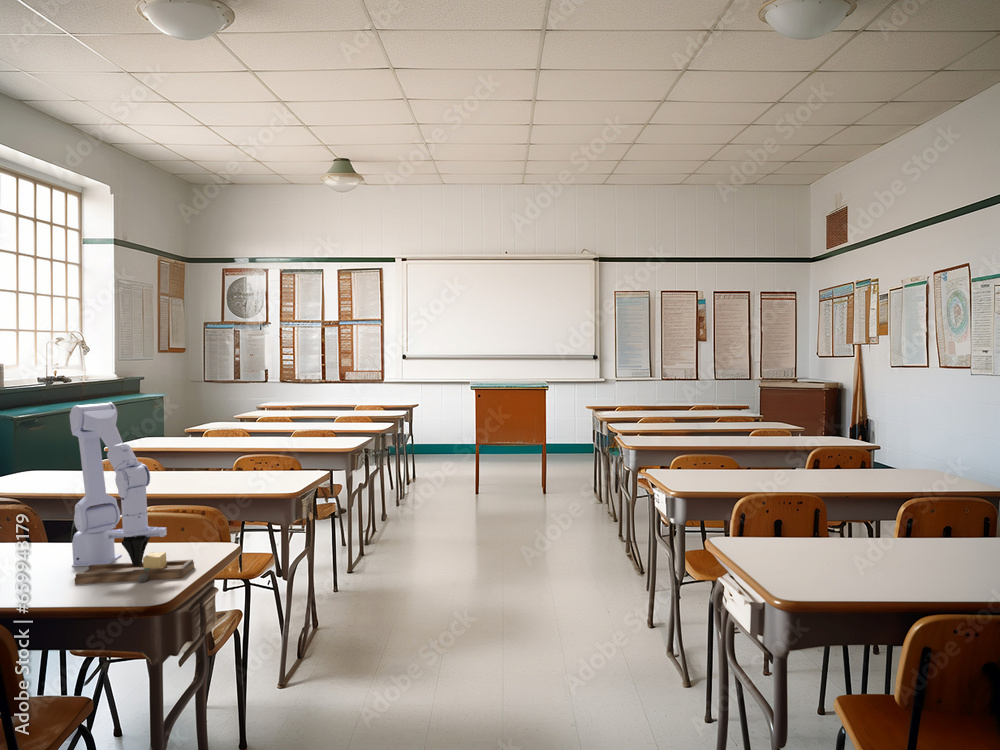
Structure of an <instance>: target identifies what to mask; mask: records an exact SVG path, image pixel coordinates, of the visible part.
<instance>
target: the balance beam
mask: <svg viewBox="0 0 1000 750" xmlns="http://www.w3.org/2000/svg"><path fill="white" fill-rule="evenodd" d="M166 563H167V565H166V566H165V567H164V568H160V569H150V568H145V569H144V567H143V561H142V564H141V565H139V566H133V564H132V562H124V563H123V562H121V563H119V562H118V563H110V564H98V565H90V566H87V567H88V569H87V570H85V571H83V572H76V573H75V577H74V585H81V584H83V585H84V584H96V583H97V584H99V583H118V582H135V581H137V582H139V583H141V584H142V583H145V582H147V581H153V580H168V579H169V580H171V579H172V580H173V579H183V578H184V577H185V576H187V575H188V574H189V573H190V572H191V571H192V570H193V569H194V568H195V561H194V559H179V560H176V559H175V560H166Z"/></svg>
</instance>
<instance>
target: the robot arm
mask: <svg viewBox="0 0 1000 750" xmlns="http://www.w3.org/2000/svg"><path fill="white" fill-rule="evenodd" d="M117 420H118V409H117V406H116V405H115V404H114V403H113V402H111V401H109V402H105V403H94V404H93V403H92V404H91V403H90V404H83V405H80V404H75V405H73V406H72V408H71V409H70V413H69V423H70V431H71V434H72V436H74V437H77V438H78V443H79V452H80V461H81V469H82V470H81V471H82V478H83V479H82V480H83V485H84V486H83V487H84V496H83V497H82V498H81V499H80V500H79V501H78V502H77V503H76V504H75V505H74V516H73V522H74V526H75V528H76V530H77V532H75V533H74V535H73V538H72V541H71V545H72V546H71V547H72V565H71V567H75V568H77V567H88V566H90V565H98V564H112V563H113V562H114V561H116V560H117V559H119V558H120V557H122V554H121V553H117V554H115V553H116V551H115V539H122V541H121V545H122V546H123V548H124V549H125V550H126V552H127V554H128V556H129V558H130V561H131V563H132V564H133V566H139V565H141V564H142V562H143V558H144V554H145V550H146V548H147V546H148V543H149V541H150V539H151V537H160V538H164V537H166V536H167V534H168V533H167V531H168V530H167V527H163V526H160V527H159V526H149V522H148V520H149V519H148V503H147V502H148V500H147V499H148V498H147V487H148V486H149V485H150V482H151V473H150V470H149V468H148V466H147V464H145V463H143V462H142V461H139V460H138V459H137V457H136V454H135V453H134V451H133V449H132V447H131V445H129V444H126V443H124V442H123V440H122V437H121V434H120V432H119V429H118V426H117ZM101 440H102V442H103V443H104V445H105V447H107V450H108V451H107V454H106V457H107V459H108V461H109V463H110V464H111V467H112V469H113V470H114V473H115V477H114V480H115V485H116V488H117V492H118V497H120V502H121V509H120V508H119V506H118V501H117V498H116V497H114V496H112V495H110V494H108V493H107V490H106V482H105V481H106V480H105V471H104V464H103V455H102V447H101ZM120 520H121V521H122V522H121V523H122V528H118V529H117V525H118V524H119V522H120ZM115 528H116V529H115Z"/></svg>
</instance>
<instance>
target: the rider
mask: <svg viewBox="0 0 1000 750" xmlns="http://www.w3.org/2000/svg"><path fill="white" fill-rule="evenodd" d="M166 561H167V552H166V551H164V552H163V551H162V552H161V551H160V552H150V553H148V554H146V555H145V556H143V559H142V562H143V567H144V569H145V568H150V569H160V568H164V567H165V566H166V565H167V563H166Z"/></svg>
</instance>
